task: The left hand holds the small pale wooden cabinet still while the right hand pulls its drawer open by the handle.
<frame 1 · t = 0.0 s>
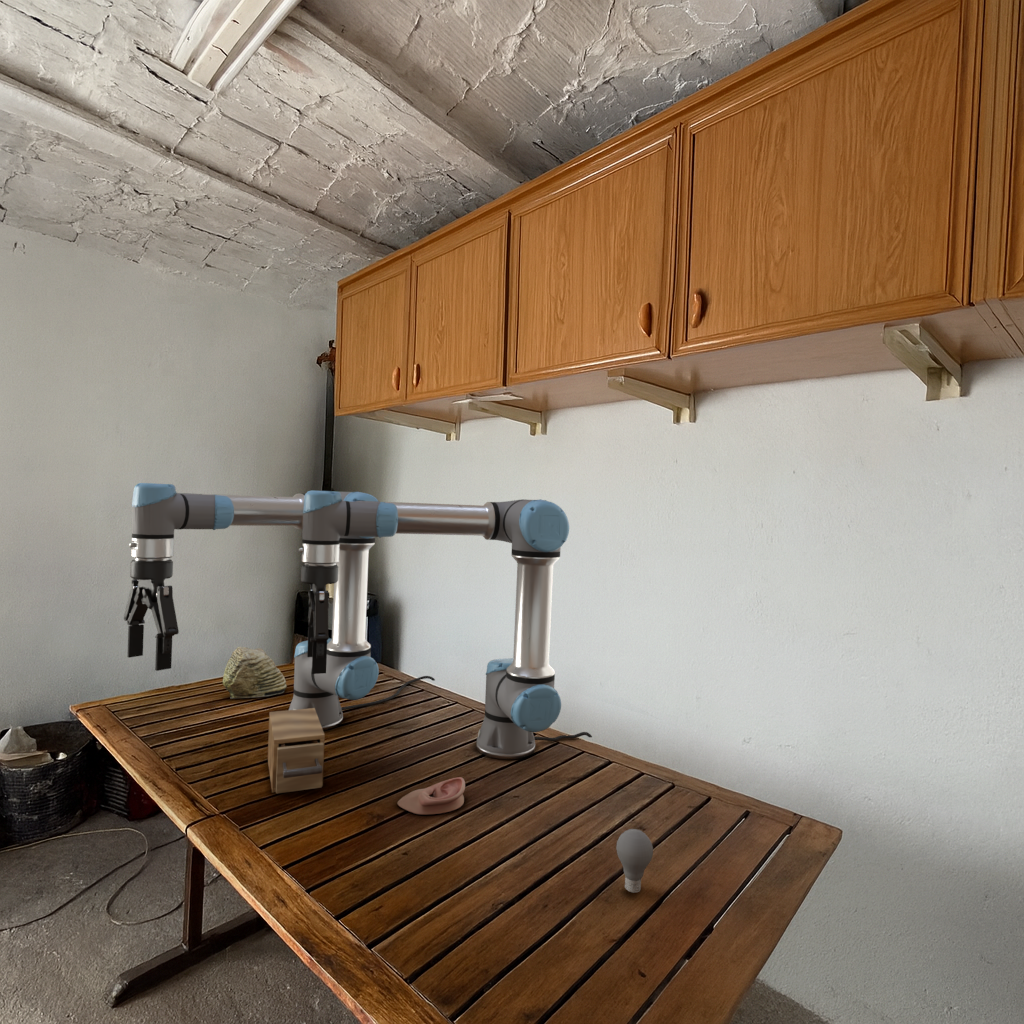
left hand: (148, 662, 129), 28 cm above the table, tool pointing down, fingers open, 13 cm apart
right hand: (316, 664, 133), 28 cm above the table, tool pointing down, fingers open, 13 cm apart
anatomical model: (431, 803, 133), on the table
cabinet: (294, 771, 145), on the table
fossil: (254, 694, 198), on the table
drawer: (297, 758, 139), point 6 cm above the table, slide at 1.7 cm
light bulb: (632, 891, 106), on the table
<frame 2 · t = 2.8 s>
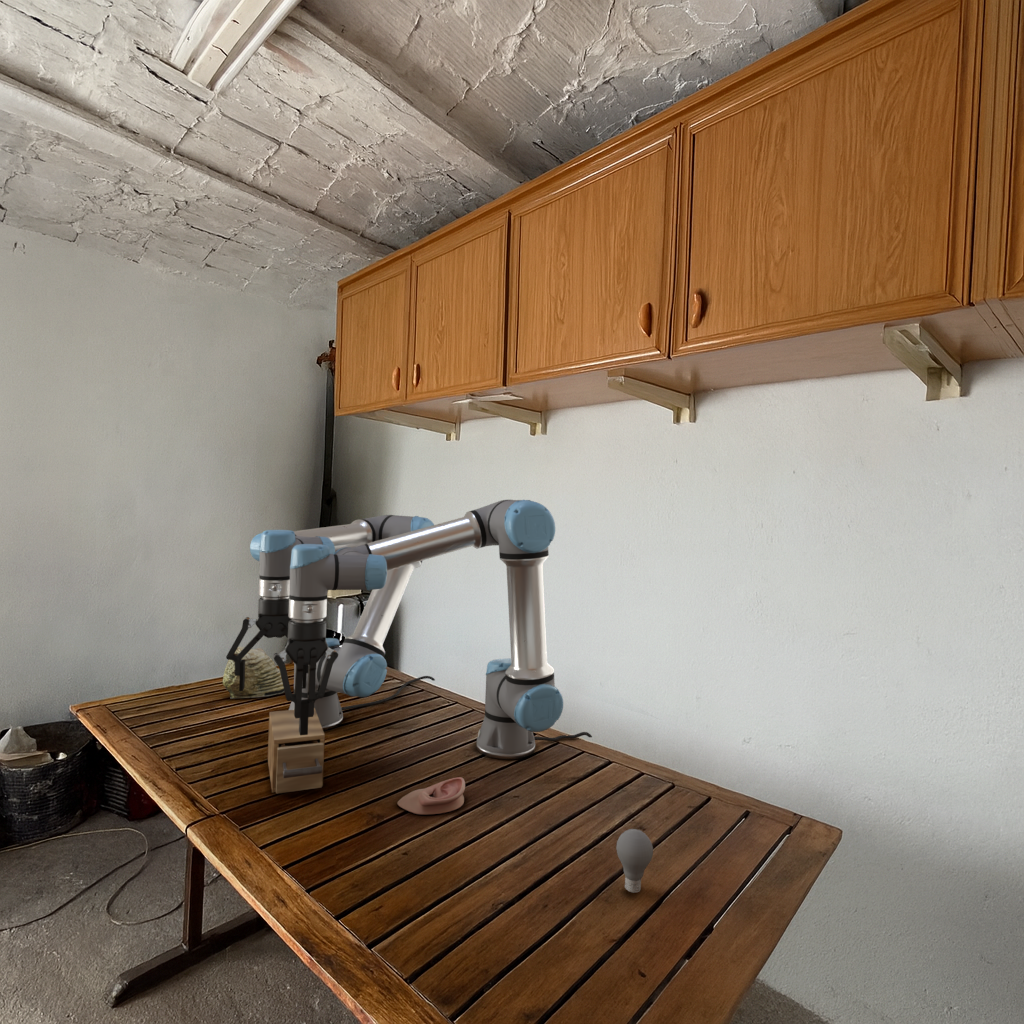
left hand: (273, 688, 147), 18 cm above the table, tool pointing down, fingers open, 13 cm apart
right hand: (303, 732, 131), 14 cm above the table, tool pointing down, fingers closed
nothing on the table moved.
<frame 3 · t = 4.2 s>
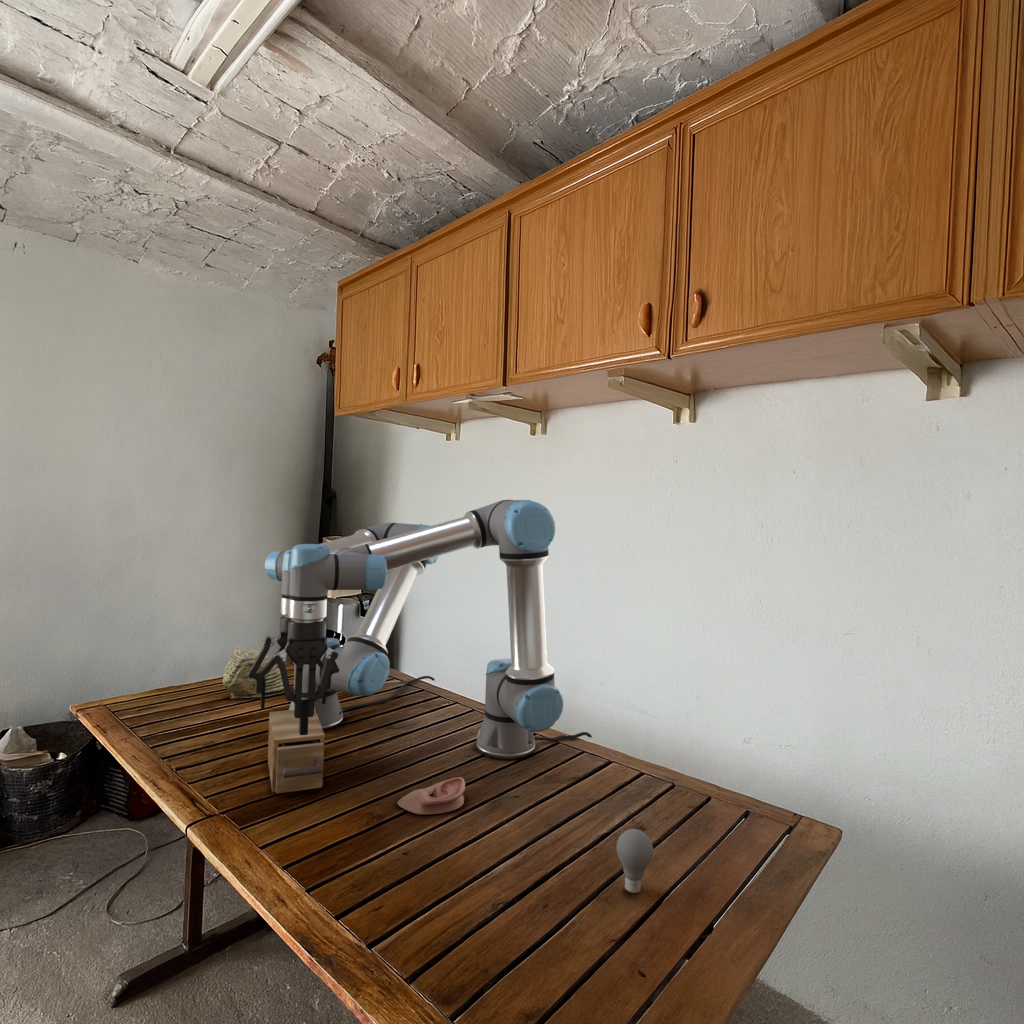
left hand: (293, 704, 150), 14 cm above the table, tool pointing down, fingers open, 13 cm apart
right hand: (303, 732, 131), 14 cm above the table, tool pointing down, fingers closed
nothing on the table moved.
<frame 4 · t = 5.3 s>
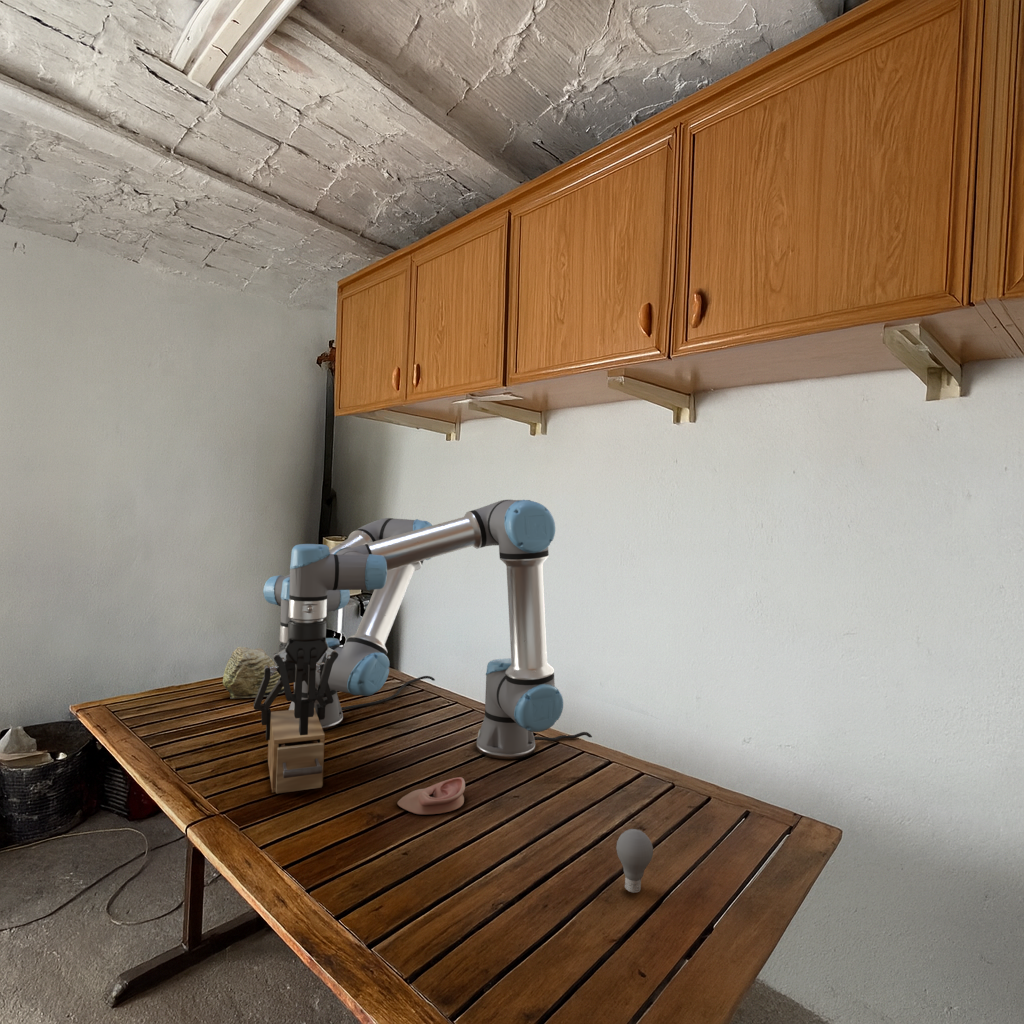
left hand: (292, 735, 150), 6 cm above the table, tool pointing down, fingers closed on cabinet, 10 cm apart
right hand: (303, 732, 131), 14 cm above the table, tool pointing down, fingers closed
cabinet: (294, 771, 145), on the table, touching left hand
everything else where it was.
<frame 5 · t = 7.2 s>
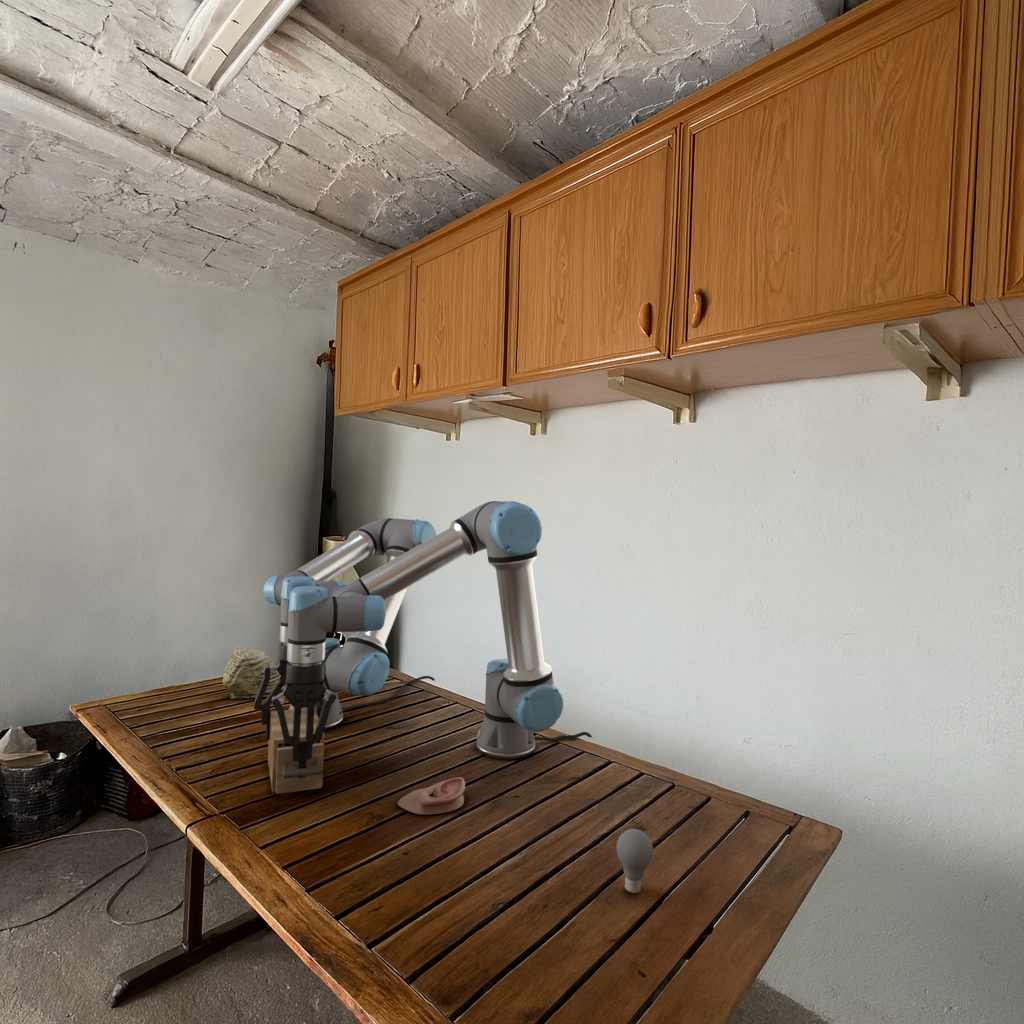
left hand: (292, 735, 150), 6 cm above the table, tool pointing down, fingers closed on cabinet, 10 cm apart
right hand: (301, 774, 131), 6 cm above the table, tool pointing down, fingers closed
cabinet: (294, 771, 145), on the table, touching left hand
drawer: (297, 758, 139), point 6 cm above the table, slide at 1.9 cm, touching right hand
everything else where it was.
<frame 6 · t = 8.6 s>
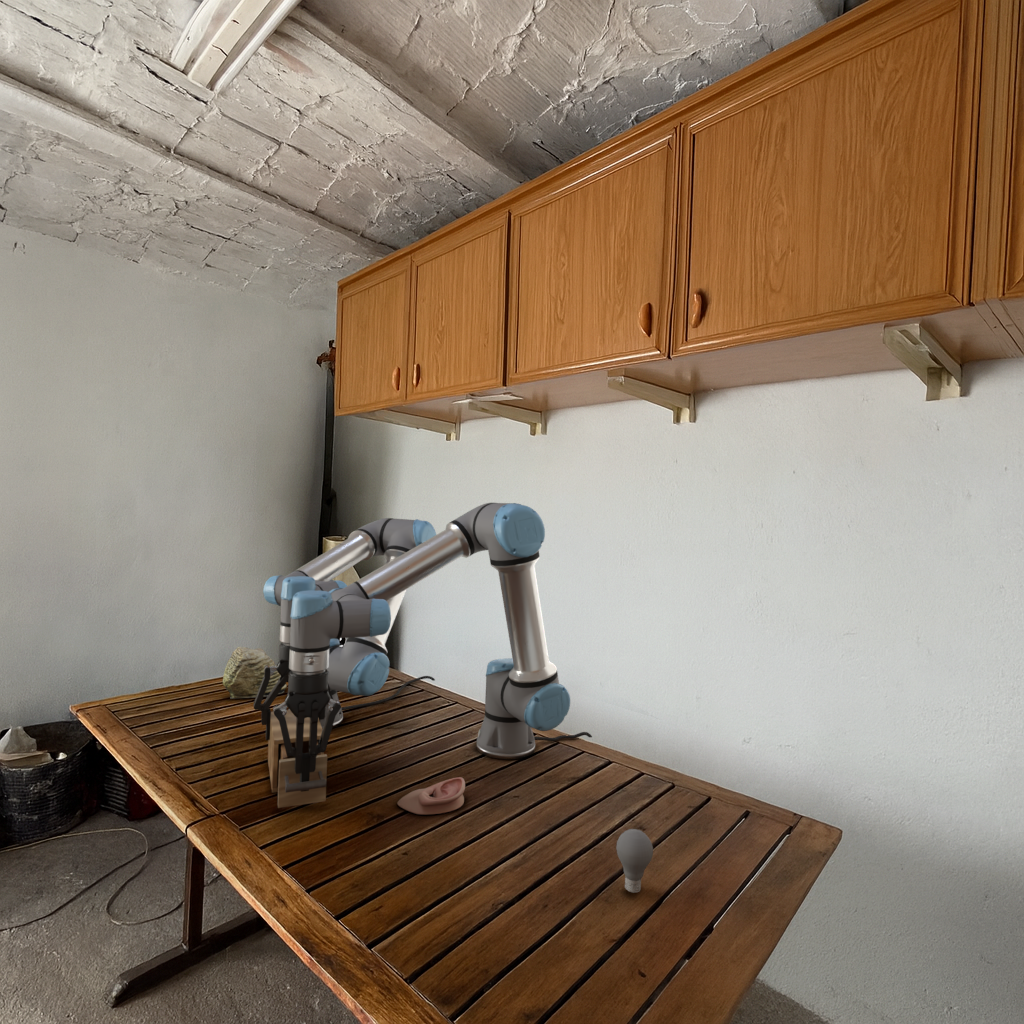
left hand: (292, 735, 150), 6 cm above the table, tool pointing down, fingers closed on cabinet, 10 cm apart
right hand: (304, 788, 125), 6 cm above the table, tool pointing down, fingers closed
cabinet: (294, 771, 145), on the table, touching left hand
drawer: (300, 770, 133), point 6 cm above the table, slide at 8.1 cm, touching right hand
everything else where it was.
when the left hand's fingers open (6 cm above the table, at t = 10.4 s): cabinet stays where it is, on the table.
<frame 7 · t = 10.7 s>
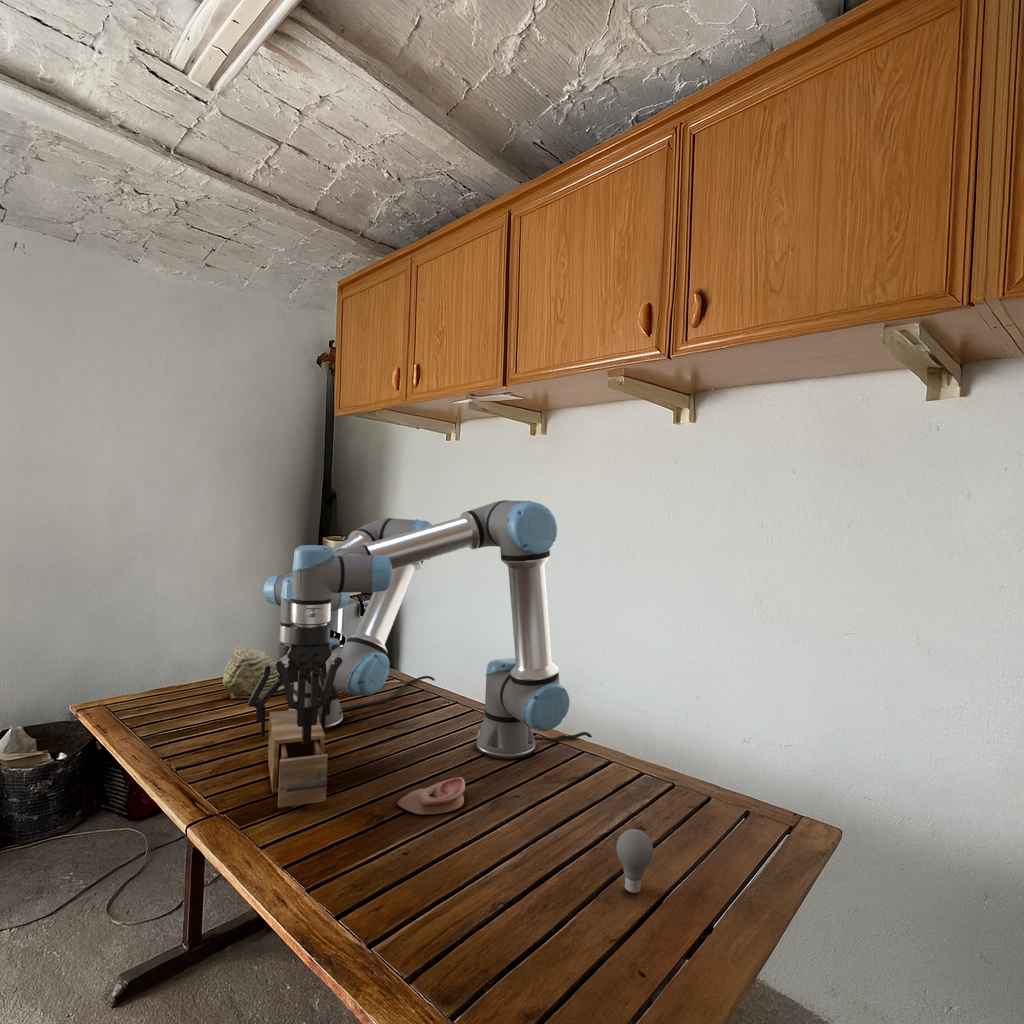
left hand: (293, 731, 150), 7 cm above the table, tool pointing down, fingers open, 13 cm apart
right hand: (306, 741, 126), 15 cm above the table, tool pointing down, fingers closed
cabinet: (294, 771, 145), on the table
drawer: (300, 770, 133), point 6 cm above the table, slide at 8.0 cm
everything else where it was.
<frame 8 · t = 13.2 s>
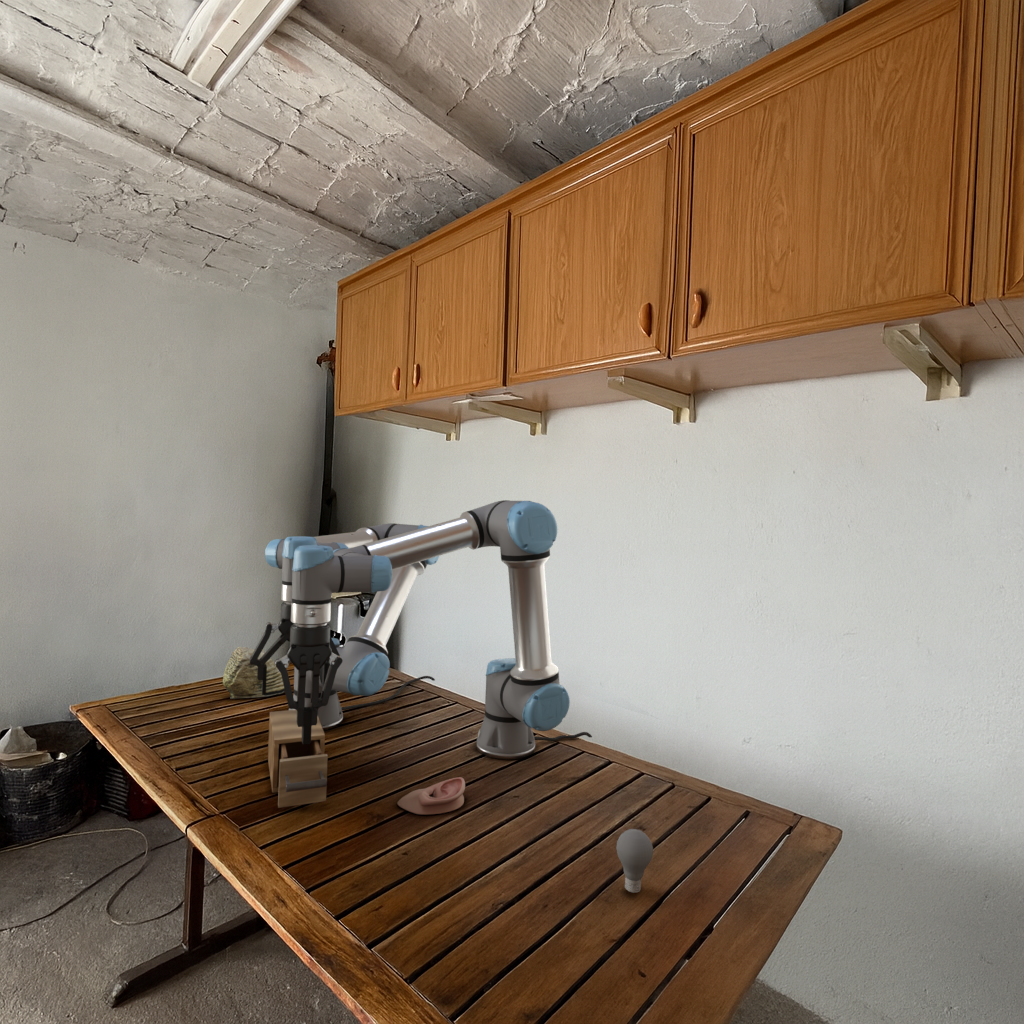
left hand: (294, 691, 150), 17 cm above the table, tool pointing down, fingers open, 13 cm apart
right hand: (306, 741, 126), 15 cm above the table, tool pointing down, fingers closed
nothing on the table moved.
at the end: drawer slide at 8.0 cm; cabinet tilted 0°; cabinet never tilted more than 1° during the clip; cabinet moved 0.1 cm from its start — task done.
